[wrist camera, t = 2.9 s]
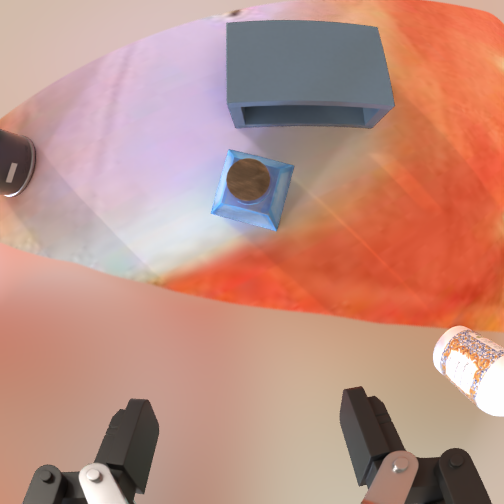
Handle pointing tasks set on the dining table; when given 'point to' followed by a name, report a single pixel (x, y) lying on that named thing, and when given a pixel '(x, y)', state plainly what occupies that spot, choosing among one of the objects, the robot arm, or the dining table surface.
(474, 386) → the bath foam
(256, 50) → the shelf
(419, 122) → the dining table surface
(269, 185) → the perfume bottle
